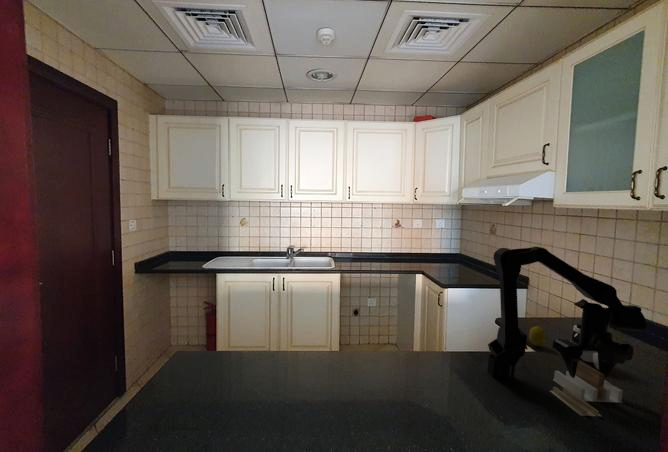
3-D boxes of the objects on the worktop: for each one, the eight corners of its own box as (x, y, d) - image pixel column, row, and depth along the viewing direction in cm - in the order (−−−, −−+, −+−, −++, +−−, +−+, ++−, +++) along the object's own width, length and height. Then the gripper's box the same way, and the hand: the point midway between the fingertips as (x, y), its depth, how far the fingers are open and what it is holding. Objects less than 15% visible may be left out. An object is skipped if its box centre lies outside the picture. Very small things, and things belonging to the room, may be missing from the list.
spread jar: (570, 352, 112) (573, 322, 112) (610, 364, 104) (615, 332, 104) (565, 362, 104) (569, 329, 103) (609, 376, 96) (613, 341, 95)
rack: (581, 403, 80) (582, 390, 80) (552, 381, 90) (553, 369, 90) (622, 405, 81) (624, 391, 80) (589, 383, 91) (591, 371, 90)
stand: (580, 418, 74) (581, 410, 74) (549, 393, 84) (550, 386, 84) (601, 419, 74) (602, 411, 74) (568, 394, 84) (568, 387, 84)
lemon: (547, 350, 112) (550, 329, 112) (531, 348, 113) (534, 327, 113) (540, 344, 118) (543, 324, 117) (525, 341, 119) (527, 322, 118)
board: (596, 399, 81) (599, 374, 81) (571, 382, 89) (574, 359, 89) (601, 399, 81) (604, 375, 81) (576, 382, 89) (579, 360, 89)
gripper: (588, 335, 76) (581, 394, 77) (657, 339, 77) (648, 397, 78) (554, 319, 87) (548, 370, 88) (614, 322, 88) (607, 373, 89)
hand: (587, 377), depth 85 cm, fingers open, 9 cm apart
